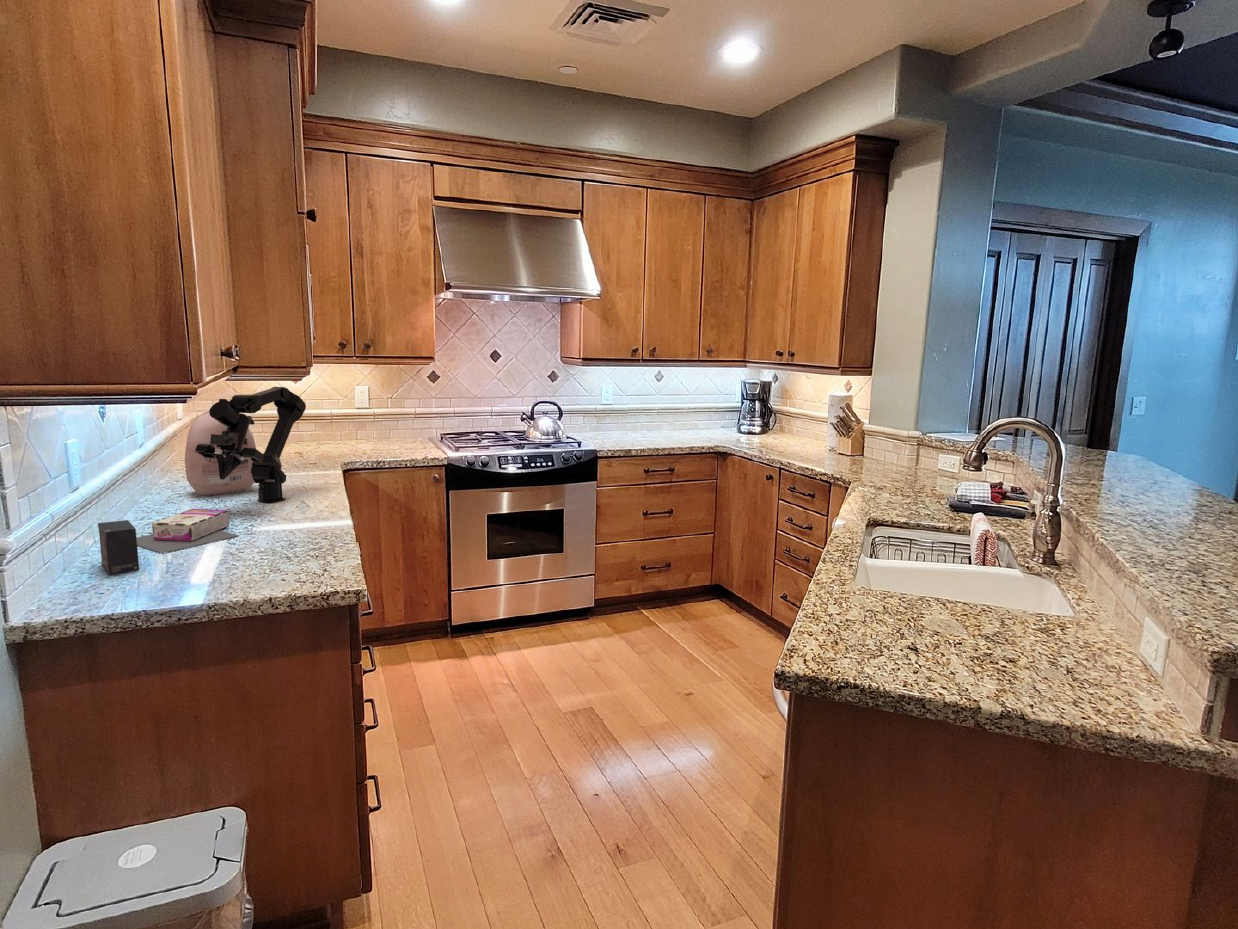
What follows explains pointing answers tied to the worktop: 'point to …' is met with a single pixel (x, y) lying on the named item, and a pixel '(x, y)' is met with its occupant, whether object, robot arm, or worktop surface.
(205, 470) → the packaged food
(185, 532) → the candy bar box
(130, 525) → the small box
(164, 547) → the mat
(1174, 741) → the worktop surface
